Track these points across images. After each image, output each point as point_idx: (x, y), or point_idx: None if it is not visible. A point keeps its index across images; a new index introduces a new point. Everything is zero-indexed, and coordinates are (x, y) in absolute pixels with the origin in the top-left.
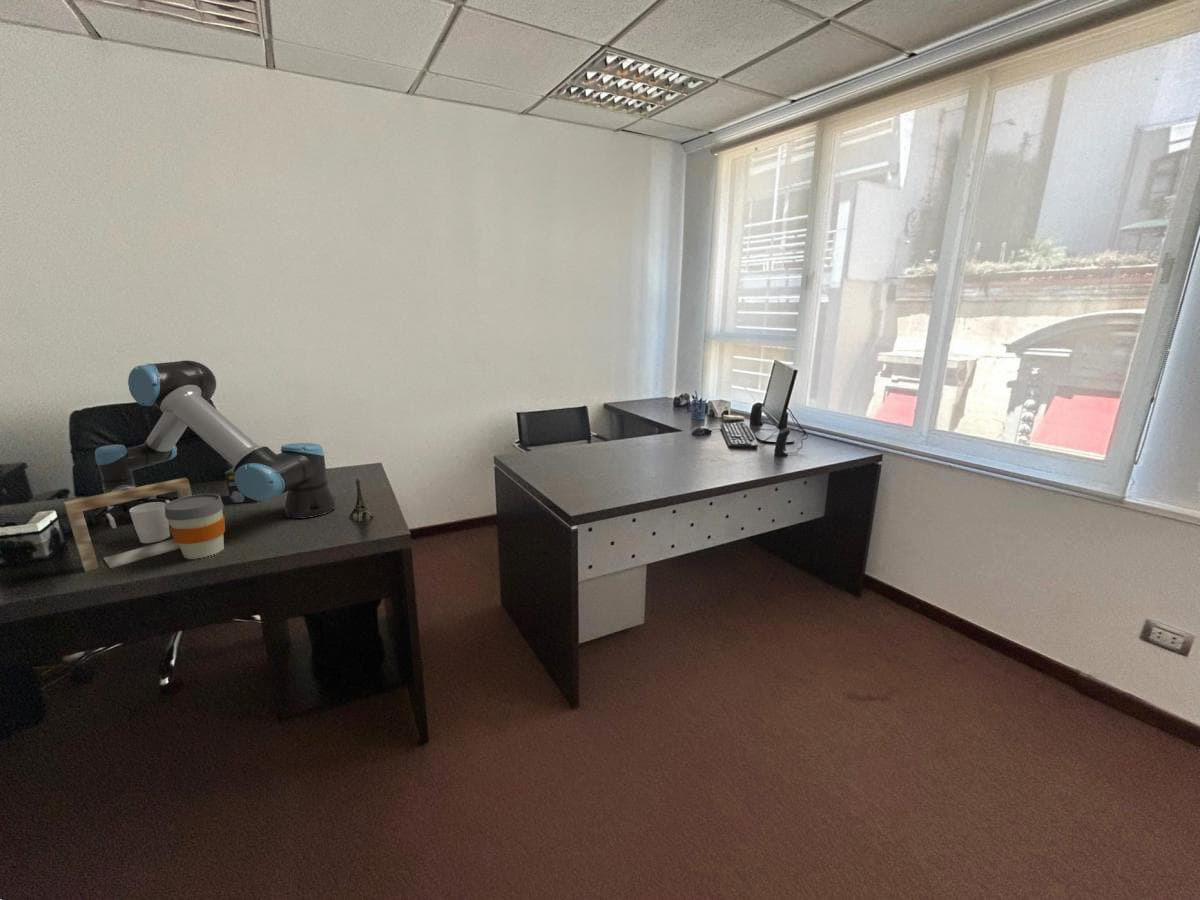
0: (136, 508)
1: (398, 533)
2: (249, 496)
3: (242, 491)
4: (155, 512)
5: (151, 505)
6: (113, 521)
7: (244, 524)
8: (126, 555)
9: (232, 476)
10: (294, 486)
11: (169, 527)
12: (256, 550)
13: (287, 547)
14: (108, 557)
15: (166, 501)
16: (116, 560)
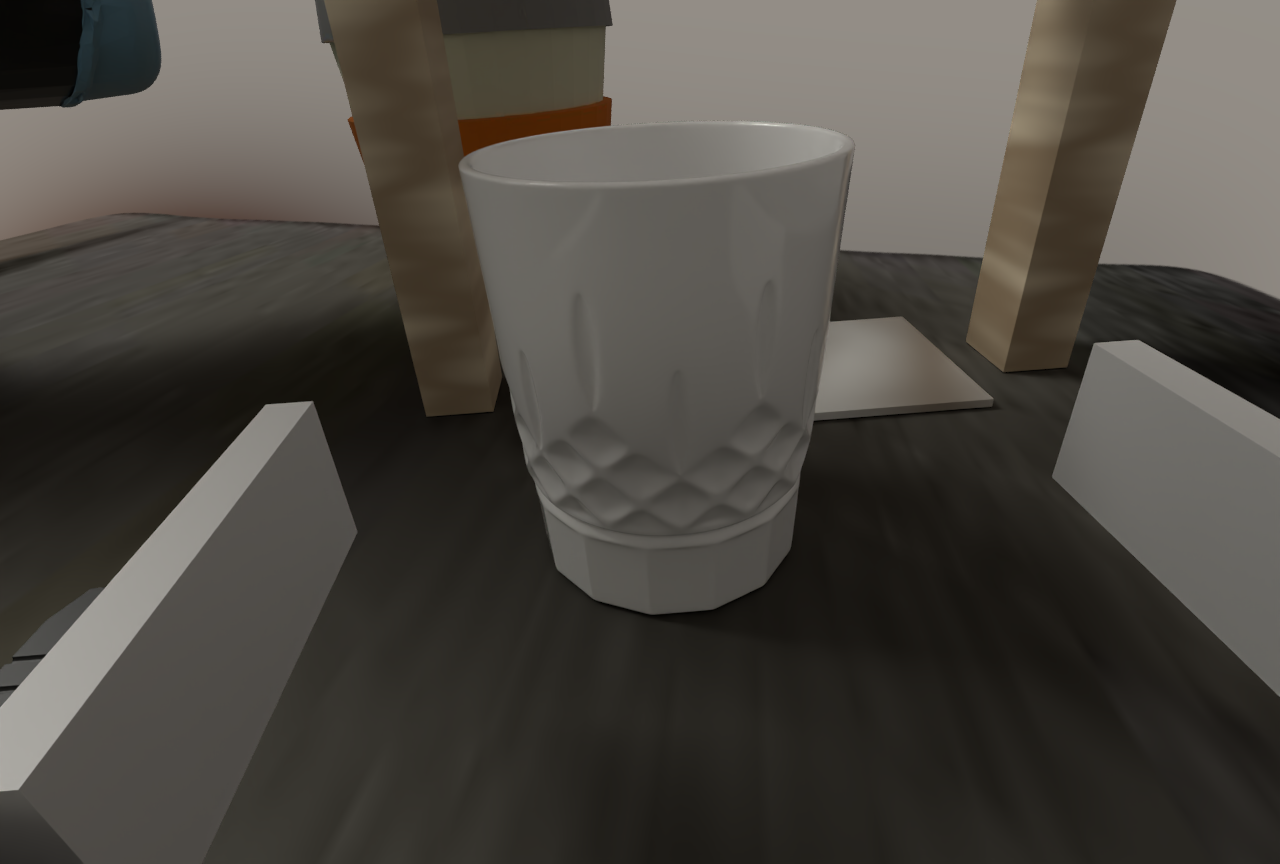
0: (784, 207)
1: (97, 217)
2: (160, 49)
3: (152, 4)
4: (612, 164)
5: (588, 232)
6: (1099, 380)
7: (122, 431)
8: (848, 372)
9: None
10: None
11: (611, 100)
12: (386, 257)
13: (316, 245)
14: (959, 392)
15: (101, 675)
16: (891, 350)
